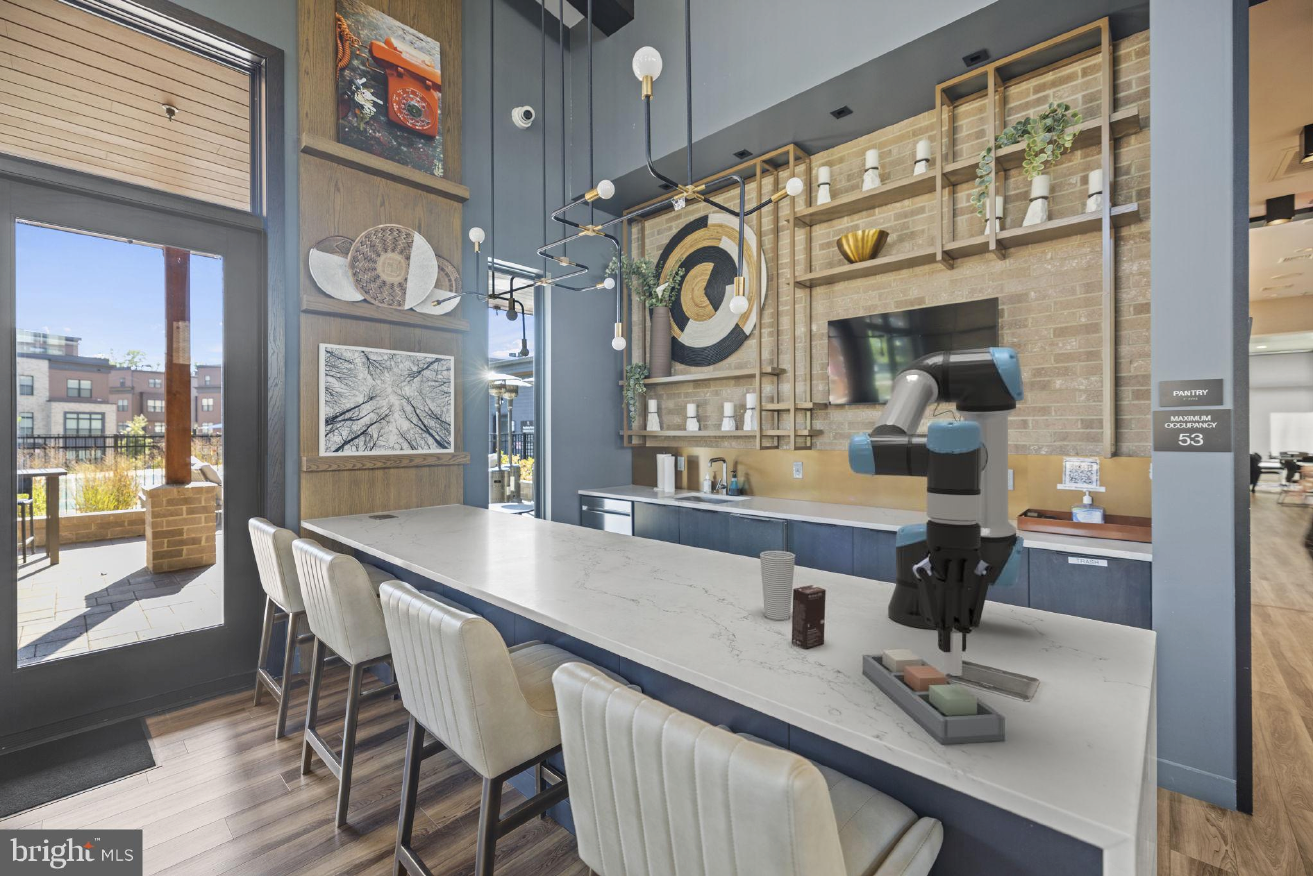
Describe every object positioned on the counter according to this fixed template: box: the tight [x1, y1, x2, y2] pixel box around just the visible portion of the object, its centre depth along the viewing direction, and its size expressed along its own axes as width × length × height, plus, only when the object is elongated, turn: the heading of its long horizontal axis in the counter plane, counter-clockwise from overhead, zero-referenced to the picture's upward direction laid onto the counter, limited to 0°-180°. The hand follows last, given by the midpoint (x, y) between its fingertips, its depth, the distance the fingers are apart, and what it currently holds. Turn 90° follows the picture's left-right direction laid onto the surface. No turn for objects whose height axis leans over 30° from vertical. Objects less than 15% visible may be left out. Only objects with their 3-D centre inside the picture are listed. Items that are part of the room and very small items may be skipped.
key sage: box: [929, 683, 978, 716], centre depth 90 cm, size 5×5×2 cm
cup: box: [759, 550, 796, 621], centre depth 143 cm, size 8×8×16 cm
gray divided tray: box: [862, 653, 1006, 745], centre depth 97 cm, size 10×25×4 cm, turn 6°
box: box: [791, 584, 827, 650], centre depth 124 cm, size 6×4×12 cm
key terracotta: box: [904, 664, 948, 692], centre depth 97 cm, size 5×5×2 cm
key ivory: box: [882, 648, 923, 673], centre depth 105 cm, size 5×5×2 cm
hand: (951, 671), depth 90 cm, fingers closed
